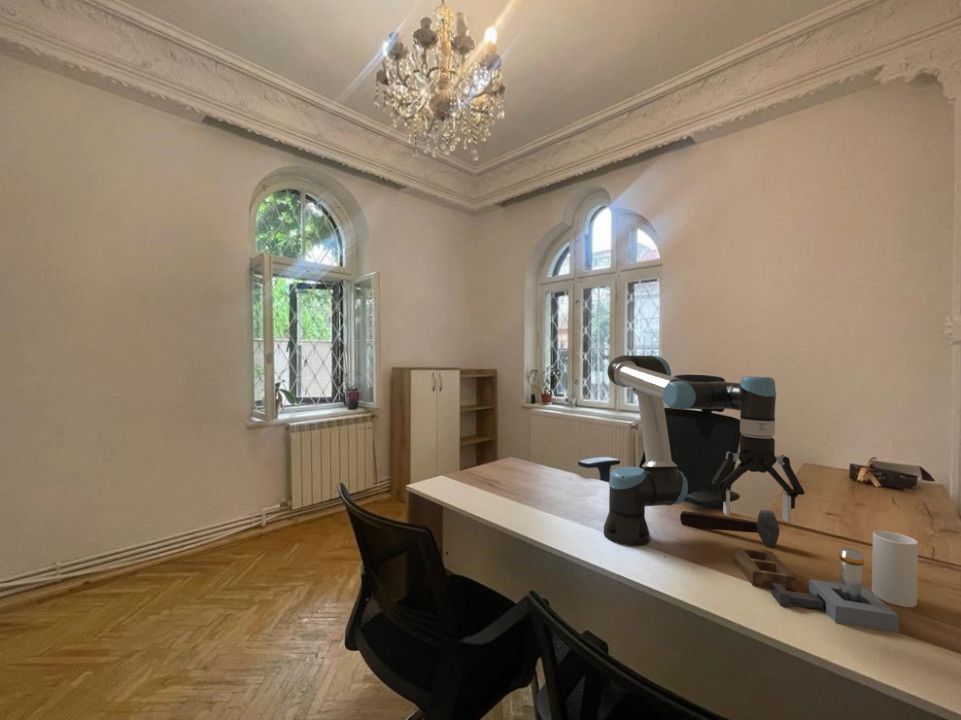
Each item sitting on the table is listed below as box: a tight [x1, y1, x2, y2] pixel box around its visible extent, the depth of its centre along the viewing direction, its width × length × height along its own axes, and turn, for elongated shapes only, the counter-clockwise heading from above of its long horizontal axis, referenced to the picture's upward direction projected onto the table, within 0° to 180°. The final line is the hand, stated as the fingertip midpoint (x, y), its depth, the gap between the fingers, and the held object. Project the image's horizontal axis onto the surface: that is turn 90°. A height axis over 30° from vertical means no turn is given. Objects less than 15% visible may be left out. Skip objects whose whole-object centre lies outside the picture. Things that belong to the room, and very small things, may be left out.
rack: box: [733, 546, 797, 592], centre depth 115 cm, size 10×15×4 cm, turn 164°
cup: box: [871, 530, 919, 608], centre depth 105 cm, size 8×8×16 cm
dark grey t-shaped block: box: [771, 583, 826, 611], centre depth 101 cm, size 10×5×3 cm, turn 74°
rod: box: [838, 547, 865, 603], centre depth 98 cm, size 4×4×15 cm
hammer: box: [679, 509, 781, 549], centre depth 143 cm, size 5×11×30 cm
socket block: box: [808, 578, 900, 634], centre depth 98 cm, size 12×12×4 cm
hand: (755, 517), depth 104 cm, fingers open, 13 cm apart
